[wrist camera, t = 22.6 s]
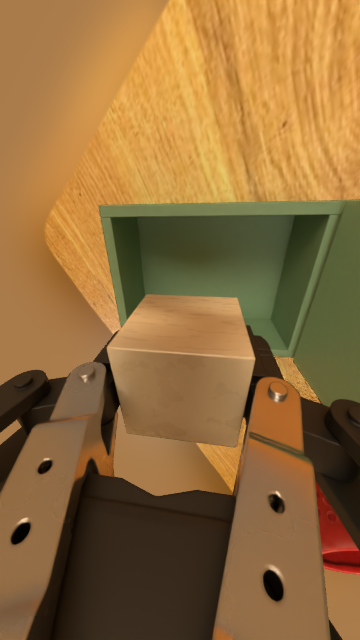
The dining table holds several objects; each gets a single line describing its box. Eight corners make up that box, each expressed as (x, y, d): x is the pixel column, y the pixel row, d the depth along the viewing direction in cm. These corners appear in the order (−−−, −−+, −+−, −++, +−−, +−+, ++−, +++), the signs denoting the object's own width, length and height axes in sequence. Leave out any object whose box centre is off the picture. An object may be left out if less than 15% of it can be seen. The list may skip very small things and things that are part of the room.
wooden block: (153, 362, 12) (126, 434, 8) (146, 293, 10) (105, 347, 6) (228, 368, 12) (236, 448, 8) (238, 297, 9) (256, 358, 6)
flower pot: (271, 474, 41) (292, 564, 30) (306, 439, 34) (348, 540, 24) (333, 490, 41) (374, 586, 30) (379, 459, 34) (453, 568, 24)
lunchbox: (143, 315, 26) (124, 345, 21) (130, 206, 20) (98, 205, 14) (274, 322, 24) (294, 357, 19) (303, 202, 18) (348, 200, 12)
